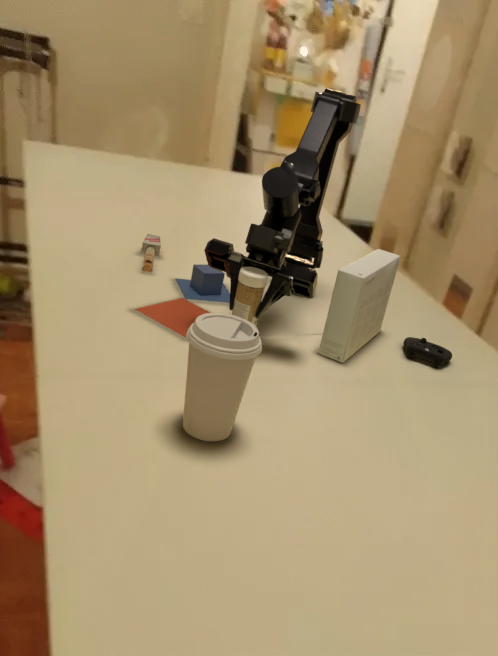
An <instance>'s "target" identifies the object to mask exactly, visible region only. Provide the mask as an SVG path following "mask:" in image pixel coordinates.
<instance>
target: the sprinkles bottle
mask: <svg viewBox="0 0 498 656" xmlns="http://www.w3.org/2000/svg"><path fill="white" fill-rule="evenodd" d="M268 279H269V276H268V274H267V273H266V272H265V271H263V270H261V269H258V268H254V267H243V268H241V269H240V272H239V277H238V280H239V282H238V288H237V293H236V297H235V301H234V306H233V310H231V315H234V316H237V317H240V318H243V319H245V320H247V321H249V322H251V323H252V324H253V325H255V326H256V327H257V325H258V320H259V319H256V313H257V310H258V307H259V305H260V303H261V301H262V299H263V296H264V290H265V288H266V286H267V284H268Z"/></svg>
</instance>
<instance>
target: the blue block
mask: <svg viewBox="0 0 498 656" xmlns="http://www.w3.org/2000/svg"><path fill="white" fill-rule="evenodd" d="M225 275H226V272H223V271H220V270H217V269H214V268H211V267H210V266H209V265H208V264H195V263H194V264H193V266H192V273H191V277H190V280H191V283H190V287H192V288H193V289H194V290H195V291H196V292H197V293H198V294H199V295H221V291H222V285H223V284H224V280H225Z"/></svg>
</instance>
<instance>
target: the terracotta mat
mask: <svg viewBox="0 0 498 656" xmlns="http://www.w3.org/2000/svg"><path fill="white" fill-rule="evenodd" d="M134 310H136V312H139V313H141V314H143V315H144V316H146V317H148V318H150V319H151V320H153V321H155V322H157V323H159V324H161V325H162V326H164V327H166V328H168V329H169V330H171V331H173V332H174V333H176V334H178V335H180V336H182V337H184V338H186V333H187V331H188V329H189V327H190V326H191V325H192V324H193V323H194V322H195V320H196V318H197V317H198V316H200V315H202V314H206V313H211V312H210V311H209V310H206V309H204V308H203V307H201V306H199V305H197V304H195V303H193V302H191V301H189V300H188V299H185V298H183V297H181V298H175V299H171V300H168V301H163V302H158V303H154V304H150V305H145V306H142V307H137V308H134Z"/></svg>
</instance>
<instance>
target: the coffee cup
mask: <svg viewBox="0 0 498 656" xmlns="http://www.w3.org/2000/svg"><path fill="white" fill-rule="evenodd" d="M185 338H186V340H187V342H188V353H187V367H186V379H185V382H186V383H185V392H184V403H183V415H182V428H183V430H184V431H185V433H187V434H188V435H189V436H191V437H192V438H195V439H197V440H200V441H205V442H221V441H224V440H226V439H227V438H229V437H230V435H231V433H232V430H233V428H234V425H235V422H236V418H237V415H238V412H239V410H240V406H241V403H242V400H243V397H244V393H245V391H246V388H247V385H248V381H249V379H250V376H251V372H252V370H253V366H254V363H255V360H256V358H257V357H258V356H259V355H260V354H261V353H262V351H263V343H262V339H261V337H260V332H259V329H258V327H257V325H256V326H255V325H253V324H252V323H251V322H249V321H247V320H245V319H243V318H240V317H237V316H234V315H232V314H229V313H224V312H210V313H206V314H202V315H200V316H198V317H197V318H196V320H195V322H194V323H193V324H192V325H191V326H190V327H189V329H188V331H187V333H186V337H185Z"/></svg>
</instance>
